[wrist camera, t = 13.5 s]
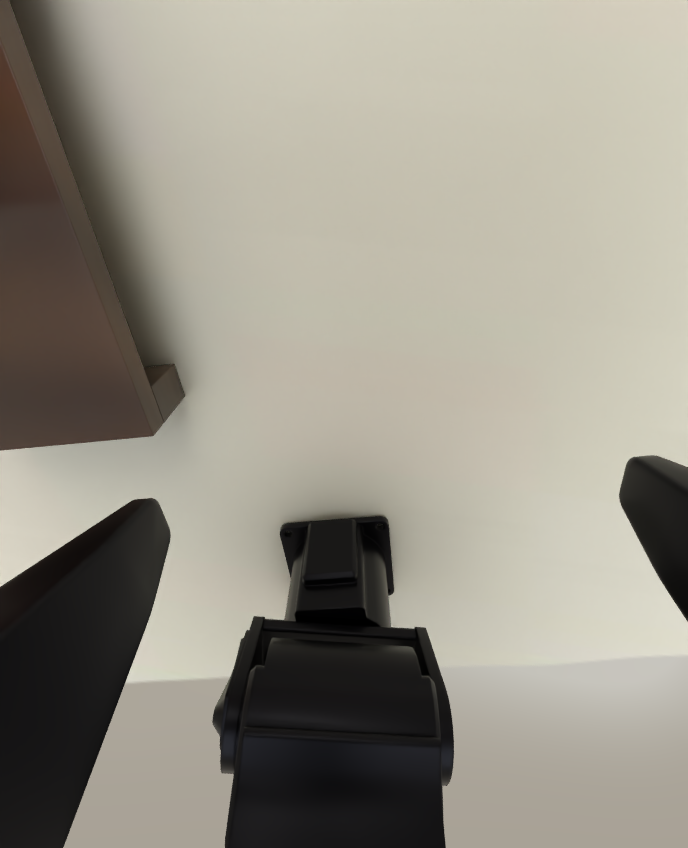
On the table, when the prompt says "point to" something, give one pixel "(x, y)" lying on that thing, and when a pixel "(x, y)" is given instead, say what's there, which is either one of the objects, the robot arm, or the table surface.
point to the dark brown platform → (59, 290)
